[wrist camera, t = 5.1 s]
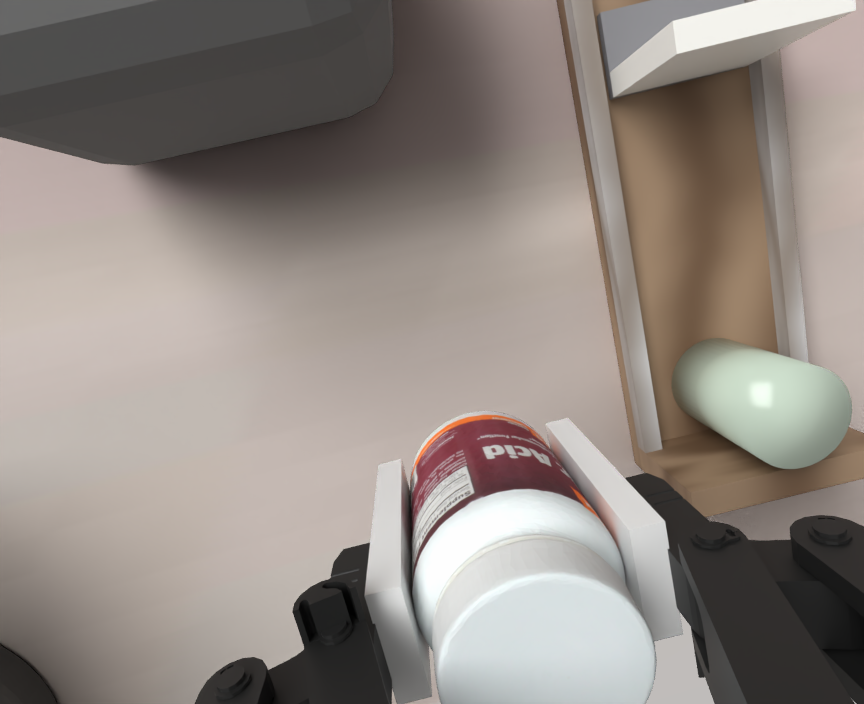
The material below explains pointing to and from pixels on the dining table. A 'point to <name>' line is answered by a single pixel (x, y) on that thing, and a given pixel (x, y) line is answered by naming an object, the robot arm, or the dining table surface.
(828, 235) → the dining table surface
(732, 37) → the paddle
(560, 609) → the pill bottle
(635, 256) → the tray
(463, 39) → the dining table surface
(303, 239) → the dining table surface
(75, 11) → the alarm clock
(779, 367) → the pale green rounded block
